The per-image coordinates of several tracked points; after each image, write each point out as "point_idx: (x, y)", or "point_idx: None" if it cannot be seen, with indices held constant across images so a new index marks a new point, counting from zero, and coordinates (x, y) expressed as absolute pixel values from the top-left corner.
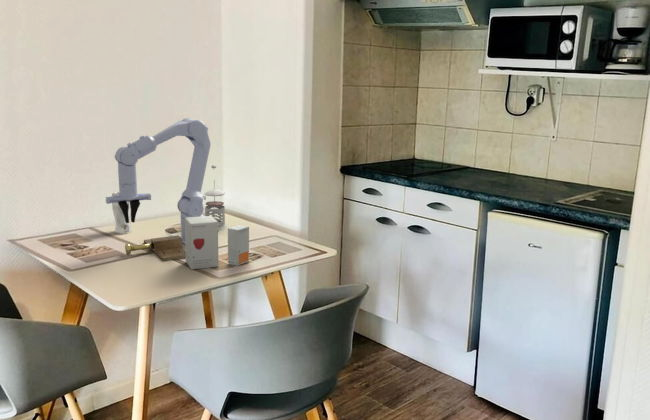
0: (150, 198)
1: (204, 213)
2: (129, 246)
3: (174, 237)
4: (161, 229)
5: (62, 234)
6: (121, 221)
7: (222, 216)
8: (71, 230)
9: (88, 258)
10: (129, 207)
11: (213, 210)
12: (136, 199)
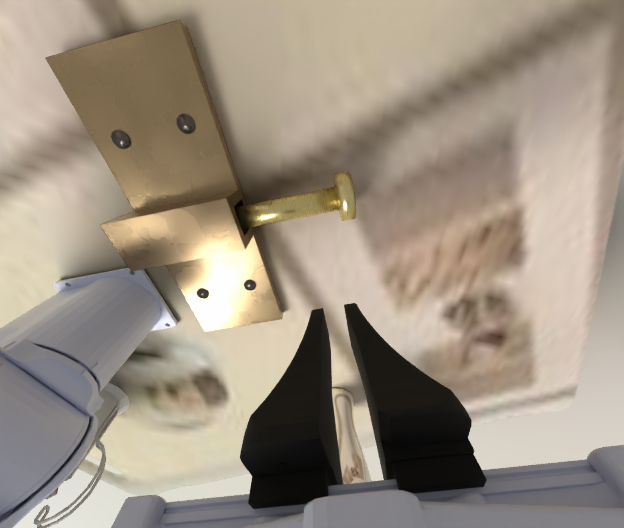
0: (119, 519)
1: (97, 446)
2: (341, 182)
3: (139, 242)
4: (238, 400)
5: (468, 406)
6: (341, 425)
7: None
8: None
9: (486, 185)
10: None
11: None
12: (279, 510)
